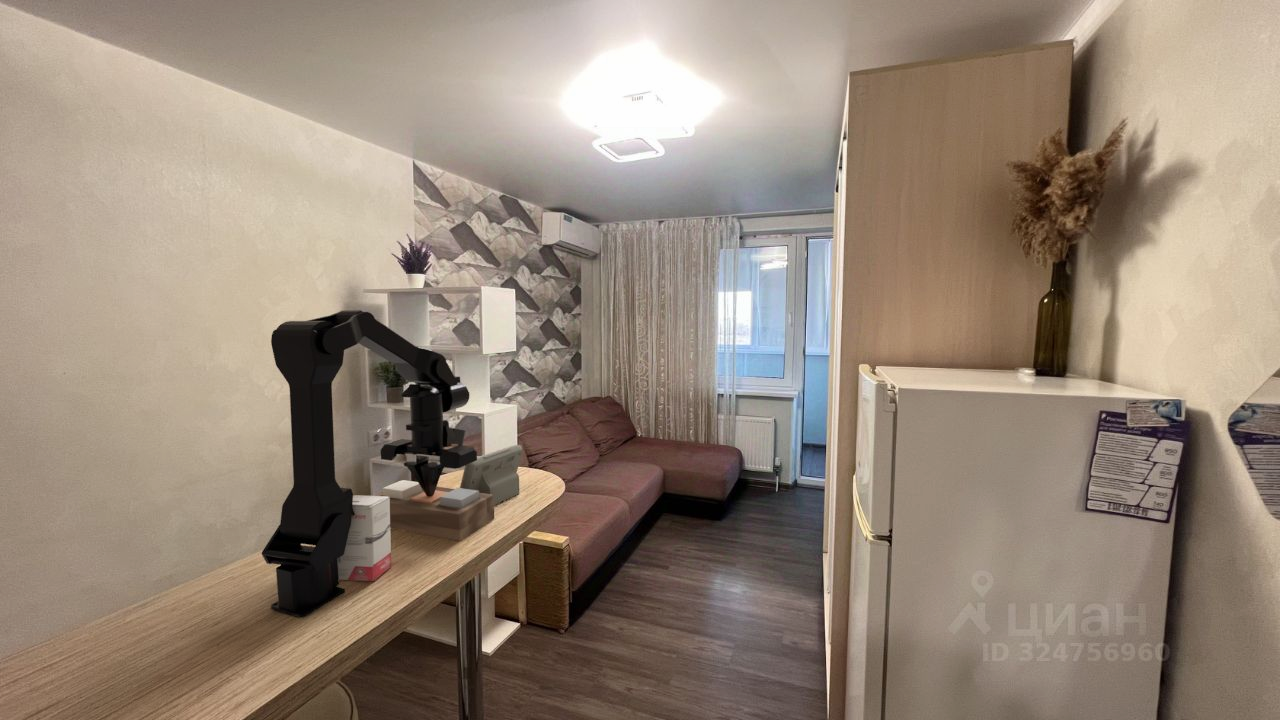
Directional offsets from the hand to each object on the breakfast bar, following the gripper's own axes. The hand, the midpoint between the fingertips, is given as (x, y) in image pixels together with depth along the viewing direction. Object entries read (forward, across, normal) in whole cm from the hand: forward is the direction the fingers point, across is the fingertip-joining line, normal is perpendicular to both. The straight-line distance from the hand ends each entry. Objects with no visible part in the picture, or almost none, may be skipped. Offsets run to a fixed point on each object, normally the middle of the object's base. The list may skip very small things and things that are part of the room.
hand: (430, 495), depth 94 cm
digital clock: (+6, -3, -15) cm, 16 cm away
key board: (+5, 0, 0) cm, 5 cm away
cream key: (+2, +7, 0) cm, 7 cm away
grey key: (+2, -7, 0) cm, 7 cm away
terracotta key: (+3, 0, 0) cm, 3 cm away
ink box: (+6, -3, +19) cm, 20 cm away
